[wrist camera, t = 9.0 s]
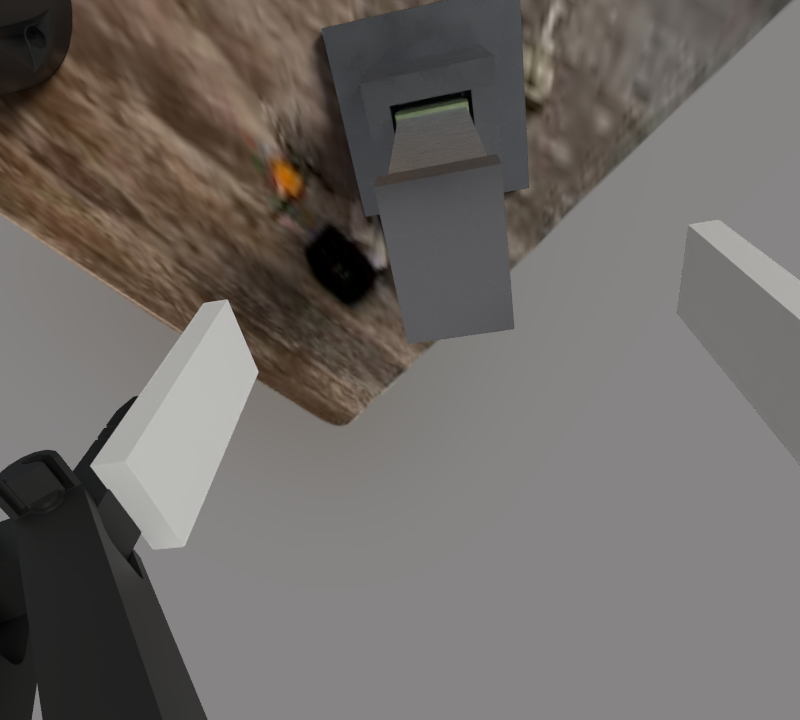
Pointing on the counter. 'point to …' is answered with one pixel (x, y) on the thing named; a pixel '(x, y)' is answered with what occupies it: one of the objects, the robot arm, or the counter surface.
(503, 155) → the stand base
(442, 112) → the grey rectangular bar
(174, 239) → the counter surface
